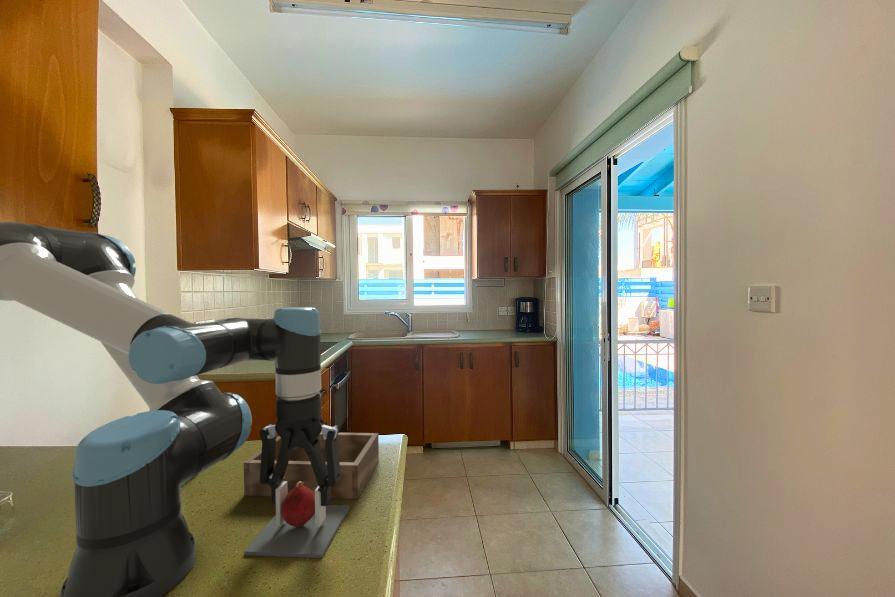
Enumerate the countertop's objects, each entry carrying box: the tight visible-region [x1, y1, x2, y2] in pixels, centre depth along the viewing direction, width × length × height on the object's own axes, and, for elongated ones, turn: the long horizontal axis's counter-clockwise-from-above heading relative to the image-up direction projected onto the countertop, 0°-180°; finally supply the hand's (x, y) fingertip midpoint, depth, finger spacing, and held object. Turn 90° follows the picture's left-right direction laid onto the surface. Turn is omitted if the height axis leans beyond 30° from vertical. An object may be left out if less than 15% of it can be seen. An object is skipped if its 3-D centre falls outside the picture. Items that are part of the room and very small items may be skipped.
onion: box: [282, 481, 315, 527], centre depth 64 cm, size 6×6×8 cm
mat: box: [243, 504, 350, 559], centre depth 64 cm, size 13×13×1 cm
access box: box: [243, 432, 380, 500], centre depth 82 cm, size 24×16×7 cm
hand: (301, 521), depth 64 cm, fingers open, 6 cm apart
